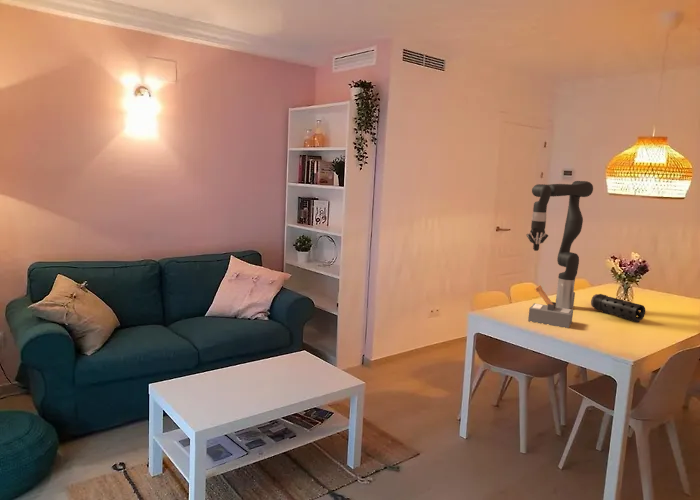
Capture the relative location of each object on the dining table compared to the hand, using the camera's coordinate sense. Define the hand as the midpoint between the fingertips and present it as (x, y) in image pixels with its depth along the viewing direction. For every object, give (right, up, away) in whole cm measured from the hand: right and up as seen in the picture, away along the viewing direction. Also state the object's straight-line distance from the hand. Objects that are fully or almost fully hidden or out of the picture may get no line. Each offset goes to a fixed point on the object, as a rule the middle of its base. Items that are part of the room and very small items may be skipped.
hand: (535, 250), depth 294 cm
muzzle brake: (+46, -38, +1) cm, 59 cm away
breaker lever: (+1, -30, -19) cm, 36 cm away
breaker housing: (+1, -38, -18) cm, 42 cm away
